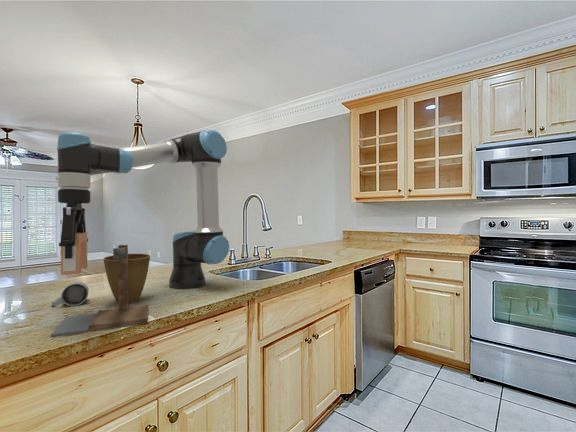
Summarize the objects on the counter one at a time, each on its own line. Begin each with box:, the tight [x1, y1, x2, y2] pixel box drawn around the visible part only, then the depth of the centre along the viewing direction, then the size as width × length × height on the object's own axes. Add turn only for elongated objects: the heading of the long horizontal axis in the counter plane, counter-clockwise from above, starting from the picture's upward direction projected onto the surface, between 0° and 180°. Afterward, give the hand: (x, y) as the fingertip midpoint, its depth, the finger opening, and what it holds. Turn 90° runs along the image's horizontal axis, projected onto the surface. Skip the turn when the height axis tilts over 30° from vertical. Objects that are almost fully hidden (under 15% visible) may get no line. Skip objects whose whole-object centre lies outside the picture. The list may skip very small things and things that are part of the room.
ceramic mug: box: [50, 280, 89, 307], centre depth 108 cm, size 11×8×8 cm
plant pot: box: [102, 253, 151, 304], centre depth 111 cm, size 15×15×16 cm
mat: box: [50, 312, 98, 338], centre depth 87 cm, size 8×15×1 cm, turn 23°
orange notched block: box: [60, 231, 88, 276], centre depth 87 cm, size 11×4×10 cm, turn 23°
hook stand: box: [89, 244, 149, 332], centre depth 91 cm, size 14×15×22 cm
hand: (74, 267), depth 87 cm, fingers closed on orange notched block, 11 cm apart
